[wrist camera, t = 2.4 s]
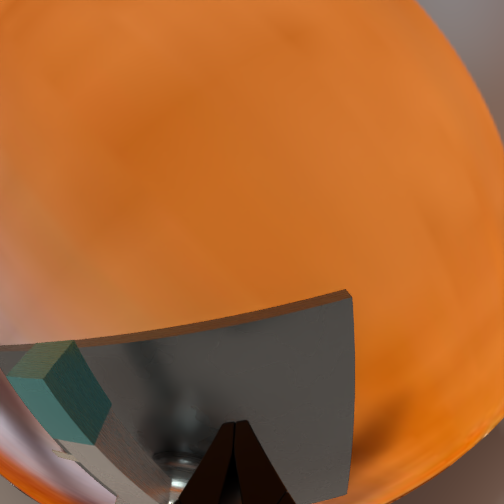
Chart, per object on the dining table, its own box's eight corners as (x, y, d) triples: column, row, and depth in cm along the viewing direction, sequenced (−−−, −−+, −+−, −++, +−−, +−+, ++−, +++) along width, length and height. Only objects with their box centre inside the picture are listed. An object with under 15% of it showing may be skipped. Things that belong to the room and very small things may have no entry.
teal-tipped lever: (259, 507, 13) (262, 540, 10) (157, 507, 13) (153, 537, 10) (153, 316, 8) (121, 379, 5) (10, 335, 8) (-27, 371, 5)
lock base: (119, 500, 18) (115, 516, 16) (-15, 346, 12) (-32, 363, 9) (344, 488, 18) (350, 507, 15) (345, 289, 11) (368, 316, 9)
